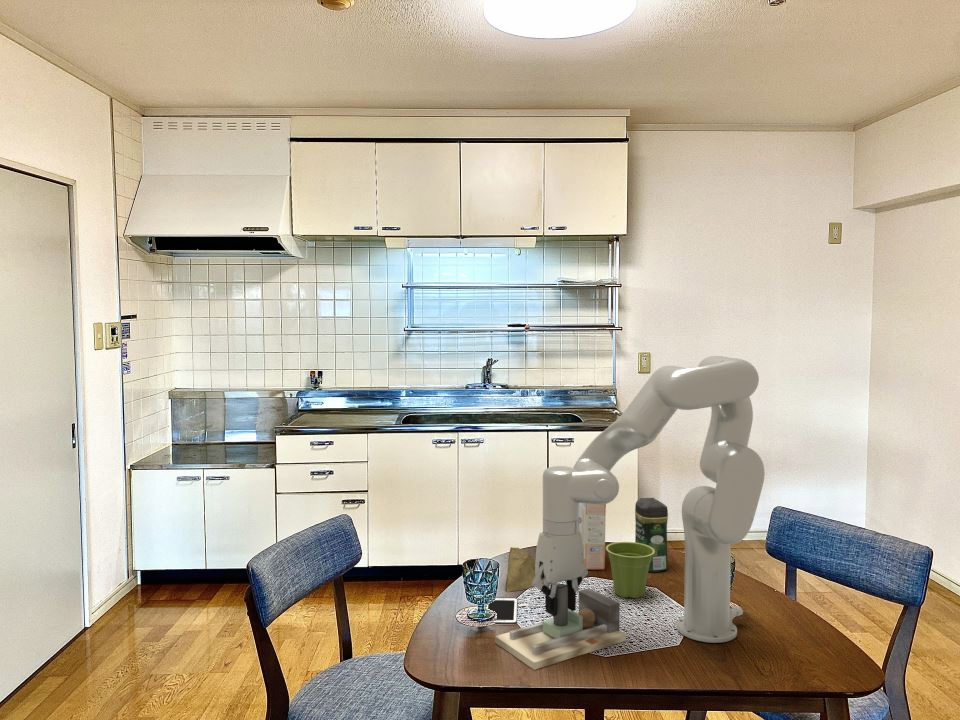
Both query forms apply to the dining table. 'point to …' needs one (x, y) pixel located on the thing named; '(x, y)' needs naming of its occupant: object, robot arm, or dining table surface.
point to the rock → (520, 570)
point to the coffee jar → (652, 530)
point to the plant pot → (629, 567)
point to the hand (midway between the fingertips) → (560, 610)
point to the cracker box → (593, 534)
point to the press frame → (547, 650)
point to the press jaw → (563, 616)
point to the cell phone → (505, 610)
